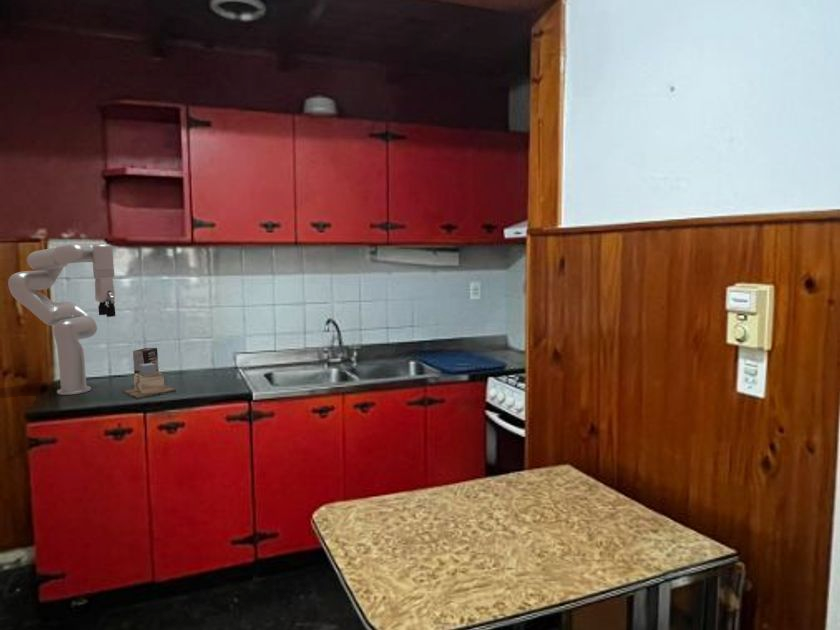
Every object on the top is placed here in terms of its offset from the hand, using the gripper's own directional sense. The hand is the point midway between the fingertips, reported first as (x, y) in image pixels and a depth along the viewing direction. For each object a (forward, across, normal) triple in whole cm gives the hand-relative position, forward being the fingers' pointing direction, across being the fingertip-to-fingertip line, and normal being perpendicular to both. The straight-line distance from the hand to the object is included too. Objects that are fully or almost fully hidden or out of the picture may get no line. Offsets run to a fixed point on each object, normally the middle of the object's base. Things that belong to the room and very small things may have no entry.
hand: (107, 315), depth 250 cm
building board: (+33, +8, +12) cm, 36 cm away
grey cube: (+26, +8, +12) cm, 30 cm away
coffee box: (+34, -8, +17) cm, 38 cm away
